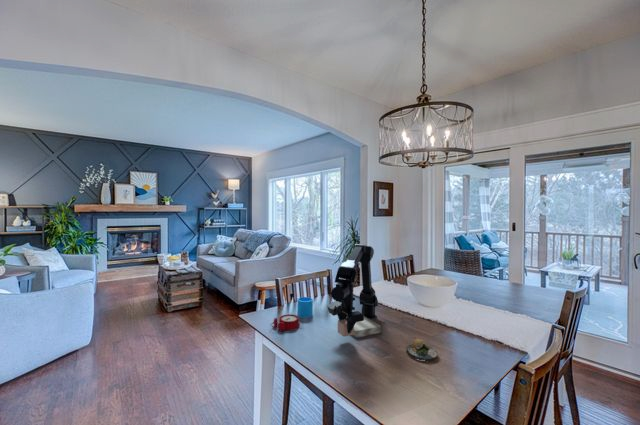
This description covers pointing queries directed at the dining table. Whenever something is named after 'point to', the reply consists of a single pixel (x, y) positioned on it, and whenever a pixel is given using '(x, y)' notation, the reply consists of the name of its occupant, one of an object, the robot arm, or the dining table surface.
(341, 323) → the cube
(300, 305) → the mug
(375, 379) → the dining table surface
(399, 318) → the dining table surface
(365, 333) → the plinth
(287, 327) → the alarm clock
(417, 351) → the plate of food
